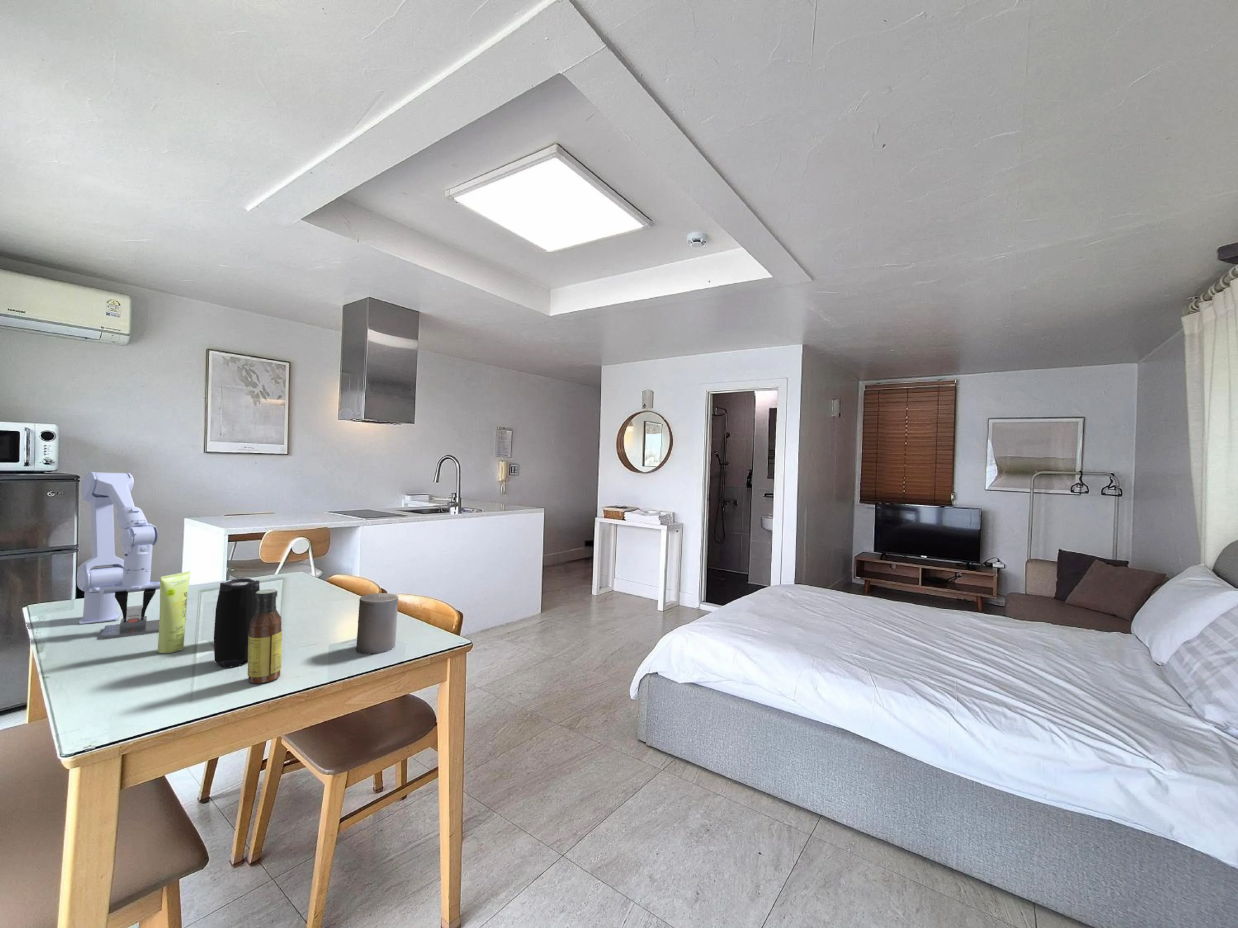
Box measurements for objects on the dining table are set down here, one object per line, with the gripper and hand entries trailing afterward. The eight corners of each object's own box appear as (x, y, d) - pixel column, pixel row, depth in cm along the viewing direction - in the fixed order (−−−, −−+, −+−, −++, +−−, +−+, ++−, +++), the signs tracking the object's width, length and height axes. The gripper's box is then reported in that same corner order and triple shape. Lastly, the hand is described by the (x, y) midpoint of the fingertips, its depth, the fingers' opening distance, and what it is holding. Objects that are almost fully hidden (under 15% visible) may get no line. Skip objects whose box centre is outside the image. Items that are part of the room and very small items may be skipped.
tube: (181, 652, 127) (186, 574, 128) (154, 655, 124) (160, 576, 125) (185, 645, 132) (190, 570, 132) (159, 648, 129) (164, 572, 130)
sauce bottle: (275, 671, 118) (280, 586, 118) (284, 679, 114) (290, 590, 114) (241, 679, 112) (247, 590, 113) (250, 687, 108) (256, 594, 109)
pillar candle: (347, 649, 134) (351, 592, 134) (380, 639, 143) (383, 586, 143) (371, 656, 130) (375, 598, 130) (403, 646, 138) (407, 591, 139)
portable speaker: (209, 671, 116) (214, 586, 117) (215, 658, 124) (220, 578, 125) (255, 665, 121) (259, 583, 121) (258, 653, 129) (263, 576, 129)
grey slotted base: (105, 628, 143) (106, 615, 143) (162, 621, 151) (163, 610, 151) (100, 639, 134) (101, 626, 134) (161, 631, 142) (162, 619, 142)
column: (125, 629, 142) (127, 606, 143) (140, 627, 145) (142, 605, 145) (124, 632, 140) (126, 609, 140) (140, 630, 142) (141, 607, 142)
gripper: (99, 573, 135) (95, 624, 135) (171, 568, 145) (168, 616, 144) (102, 569, 140) (98, 618, 140) (171, 565, 150) (168, 610, 150)
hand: (134, 616), depth 142 cm, fingers closed on column, 3 cm apart
